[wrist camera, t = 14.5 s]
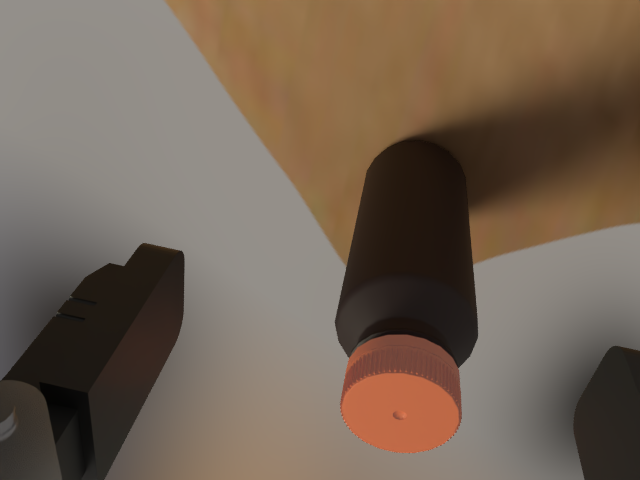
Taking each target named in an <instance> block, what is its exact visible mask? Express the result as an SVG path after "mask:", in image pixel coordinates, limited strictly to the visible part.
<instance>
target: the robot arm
mask: <svg viewBox="0 0 640 480" xmlns="http://www.w3.org/2000/svg"><path fill="white" fill-rule="evenodd" d="M183 312H184V254H183V252H182V251H179V250H174V249H170V248H165V247H161V246H156V245H151V244H147V243H143V244H141V245H140V246H139V247H138V248H137V250H136V251H135V252H134V254H133V255H132V256H131V258H130V259H129V261H128V262H127V263H126V265H125V266H120V265H116V264H111V263H109V264H107V265H105V266H104V267H102V268H100V269H99V270H97V271H95V272H93V273H92V274H90V275H88V276H87V277H85V278H84V280H83V281H82V282H81V283H80V285H79V286H78V287H77V288H76V290H75V291H74V292H73V293H72V294H71V296H70V299H69V301H68V300H67V301H66V302H65V303H64V304H63V305H62V307H61V308H60V309H59V310H58V312H57V315H56V317H53V318H52V319H51V320H50V322H49V323H48V324H47V325H46V327H45V328H44V329H43V330H42V331H41V333H40V334H39V335H38V337H37V338H36V339H35V340H34V341H33V342H32V344H31V345H30V346H29V347H28V349H27V350H26V351H25V353H24V354H23V355H22V356H21V357H20V359H19V360H18V361H17V362H16V363H15V365H14V366H13V367H12V368H11V370H10V371H9V372H8V374H7V375H6V376H5V377H4V378H3V379H2V380H1V381H0V480H104V479H105V477H106V475H107V473H108V471H109V469H110V468H111V466H112V464H113V462H114V460H115V458H116V456H117V454H118V452H119V451H120V449H121V447H122V444H123V443H124V441H125V439H126V437H127V435H128V433H129V431H130V429H131V428H132V425H133V424H134V422H135V420H136V418H137V416H138V414H139V412H140V410H141V408H142V406H143V405H144V403H145V401H146V399H147V397H148V395H149V393H150V391H151V389H152V387H153V385H154V384H155V382H156V380H157V378H158V376H159V374H160V372H161V370H162V368H163V366H164V364H165V362H166V361H167V359H168V357H169V355H170V353H171V351H172V349H173V347H174V345H175V343H176V341H177V338H178V336H179V332H180V329H181V325H182V320H183ZM573 426H574V436H575V440H576V444H577V449H578V453H579V458H580V462H581V466H582V470H583V475H584V479H585V480H640V351H638V350H633V349H629V348H624V347H620V346H613V347H611V348H610V349H609V350H608V351H607V353H606V354H605V356H604V357H603V359H602V361H601V362H600V364H599V366H598V368H597V370H596V371H595V373H594V375H593V377H592V378H591V380H590V382H589V383H588V385H587V387H586V388H585V390H584V392H583V394H582V395H581V397H580V399H579V401H578V403H577V406H576V409H575V414H574V424H573Z"/></svg>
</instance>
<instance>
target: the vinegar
mask: <svg viewBox="0 0 640 480" xmlns="http://www.w3.org/2000/svg"><path fill="white" fill-rule="evenodd" d="M335 326H336V331H337V336H338V341H339V343H340V344H341V346H342V347H343V349H344V351H345V352H346V354H347V356H348V357H349V361H348V365H347V369H346V374H345V380H344V385H343V391H342V397H341V403H340V405H341V407H340V409H341V413H342V416H343V420H345V423H347V426H349V429H351V431H352V432H353V433H354V434H355V435H357V436H358V437H359V438H361V439H362V441H365V442H366V443H369V444H370V445H373V446H375V447H377V448H380V449H384V450H388V451H392V452H399V453H400V452H401V453H416V452H421V451H426V450H431V449H433V448H435V447H437V446H439V445H440V446H441V444H444V443H445V442H446V441H448V439H449V438H451V436H452V435H453V436H454V433H456V429H458V426H460V423H461V419H462V417H461V415H462V412H461V391H460V378H459V370H458V368H459V367H460V366H461V365H462V364H463V363H464V362H465V361H466V360H467V358H469V357H470V354H471V353H472V350H473V348H474V346H475V343H476V341H477V338H478V321H477V307H476V295H475V284H474V272H473V260H472V249H471V237H470V226H469V214H468V202H467V191H466V179H465V175H464V173H463V171H462V168H461V166H460V164H459V162H458V161H457V160H456V159H455V158H454V157H453V156H452V155H451V154H450V153H449V152H448V151H447V150H445V149H443V148H441V147H439V146H437V145H436V144H433V143H428V142H423V141H408V142H401V143H399V144H396V145H393V146H391V147H388V148H387V149H386V150H384V151H383V152H382V153H381V154H379V155H378V156H377V157H376V158H375V159H374V160H373V162H372V164H371V165H370V167H369V168H368V170H367V173H366V178H365V183H364V187H363V192H362V197H361V201H360V206H359V211H358V215H357V220H356V225H355V230H354V234H353V239H352V244H351V248H350V253H349V258H348V262H347V267H346V272H345V277H344V281H343V286H342V291H341V295H340V300H339V305H338V309H337V314H336V319H335Z"/></svg>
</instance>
